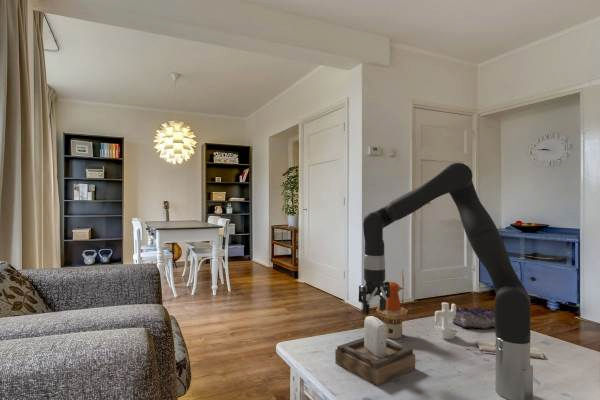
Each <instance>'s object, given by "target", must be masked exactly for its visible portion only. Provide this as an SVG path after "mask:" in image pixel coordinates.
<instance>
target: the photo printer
mask: <svg viewBox="0 0 600 400" xmlns="http://www.w3.org/2000/svg"><path fill="white" fill-rule="evenodd" d="M363 322H364V323H363V325H364V326H363V327H364V328H363V331H364V332H363V333H364V334H363V336H364V337H363V338H364V347H365V348H366V349H367V350H369V351H370V352H371V353H372V354H374V355H375V356H376V357H379V358H382V357H385V356H386V340H387V338H386V326H385V325H384V323H383V322H382V319H379V318H378V317H376V316H373V315H366V317H365V319H364V321H363Z"/></svg>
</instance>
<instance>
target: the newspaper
mask: <svg viewBox="0 0 600 400" xmlns="http://www.w3.org/2000/svg"><path fill="white" fill-rule="evenodd" d="M475 342H476V343H477V345H478V348H479V351H480V352H482V353H485V354H495V355H496V342H490V341H481V340H476V341H475ZM533 358H534V359H543V360H544V358H545V357H544V354H543V353H542V352H541V351H540V350H539V349H538V347H533V346H530V359H533Z"/></svg>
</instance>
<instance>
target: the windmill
mask: <svg viewBox="0 0 600 400" xmlns="http://www.w3.org/2000/svg"><path fill="white" fill-rule="evenodd" d="M401 272H402V274H401V276H402V277H401V278H402V287H401V286H400V285H399V284H398V283H397V282H395V281H389V282H390V297H389V298H387V300H386V308H385V310H384V311H383V310H380V306H378V307H377V308H376V313H377V315H378V316H380V317H381V321H382V322H383V323H384V325H385V326H386V339H393V340H397V339H398V340H399V339H402V338H404V336H405V335H404V334H403V320H404V319H406V318H407V314H408V312H409V310H408V309H406V308H404V307H403V306H401V305H402V304H401V303H404V285H405V277H404V269H403V268H402V271H401ZM401 290H402V291H401ZM400 291H401V301H400V296H399V292H400ZM386 294H387V292H386Z"/></svg>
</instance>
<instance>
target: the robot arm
mask: <svg viewBox="0 0 600 400" xmlns="http://www.w3.org/2000/svg"><path fill="white" fill-rule="evenodd" d="M446 194H449V195H450V197H451V198H452V201H453V202H454V204H455V205H456V206H455V207H456V208H457V211H458V214H459V217H460V220H461V223H462V227H463V229H464V232H465V235H466V237H467V240H468V242H469V245H470V246H471V248H472V250H473V252H474V254H475V255H476V257H477V259H478V260H479V262H480V263H481V264H482V265H483V267H484V268H485V270H486V271H487V273H488V275H489V277H490V279H491V283H492V285H493V288H494V291H495V298H494V311H495V343H496V352H495V353H496V354H495V383H494V384H495V392H496V393H497V394H498V395H499V396H501V397H502V398H504V399H507V400H532V398H533V397H534V366H533V365H532V364H531V358H530V347H531V297H530V294H529V293H528V291H527V290H526V288H525V286H524V284H523V283H522V282H521V280H520V278H519V276H518V275H517V272H516V271H515V269H514V268H513V265H512V263H511V260H510V257H509V253H508V251H507V248H506V246H505V243H504V241H503V238H502V236H501V234H500V231H499V229H498V228H497V226H496V224H495V222H494V220H493V218H492V217H491V215H490V213H489V212H488V211H487V210H486V209H487V208H485V206H484V205H483V204H482V202H481V199H480V198H479V196H478V194H477V192H476V189H475V185H474V182H473V172H472V169H471V168H470V167H469V165H467V164H465V163H462V162H454V163H451V164H449V165H447V166H446V167H445V168H444V169H443V170H442V171H440V172H439V173H438V174H437V175H435V176H433V177H432V178H431V179H429V180H428V181H426V182H425V183H423V184H422V185H420V186H418V187H416V188H414V189H412V190H410V191H408V192H406V193H405V194H402V195H401V196H399V197H397V198H395V199H393V200H391V201H390V202H388V203H387V204H386V205H384V206H383V207H381V208H379V209H377V210H374V211H372V212H368V213H367V214H366V215H365V216H364V218H363V220H362V221H363V222H362V226H363V227H362V229H363V238H364V257H363V258H364V259H363V279H364V280H365V285H361V284H360V285H359V286H358V303H361V304H362V312H363V314H364V315H366V316H370V314H371V313H370V309H371V308H370V306H371V305H370V303H371V302H372V301H371V300H373V299H374V297H376V296H378V298H379V307H380V310H383V311H384V310H385V308H386V300H387V298H389V297H390V282H391V281H387V280H386V258H385V241H384V235H383V234H384V233H383V230H384V228H386V227H388V226H389V225H391V224H393V223H394V222H396V221H400V220H401V219H404V218H405V217H407V216H409V215H411V214H413V213H414V212H415V213H416V212H417V211H419V209H420V210H421V209H422V208H423V207H424V206H425V205H427V204H429V203H430V202H432V201H434V200H436V199H437V198H439V197H441V196H444V195H446ZM386 293H387V294H386Z"/></svg>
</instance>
